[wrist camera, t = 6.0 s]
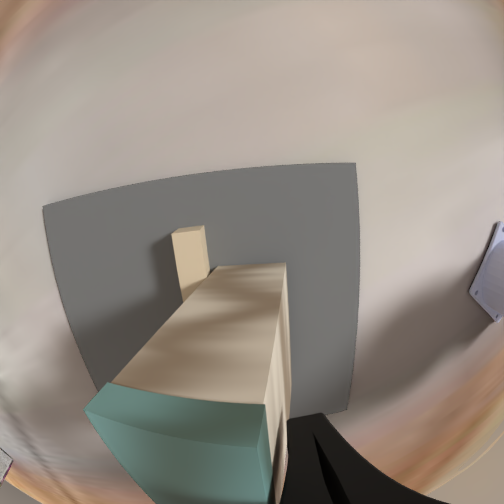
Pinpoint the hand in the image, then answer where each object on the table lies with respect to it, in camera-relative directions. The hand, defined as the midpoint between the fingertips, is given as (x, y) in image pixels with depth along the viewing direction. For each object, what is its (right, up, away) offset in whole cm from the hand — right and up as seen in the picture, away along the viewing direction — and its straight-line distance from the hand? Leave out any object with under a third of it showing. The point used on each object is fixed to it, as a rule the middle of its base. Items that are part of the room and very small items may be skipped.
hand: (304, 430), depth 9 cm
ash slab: (-2, +2, +8) cm, 9 cm away
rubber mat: (-5, +2, +9) cm, 10 cm away
